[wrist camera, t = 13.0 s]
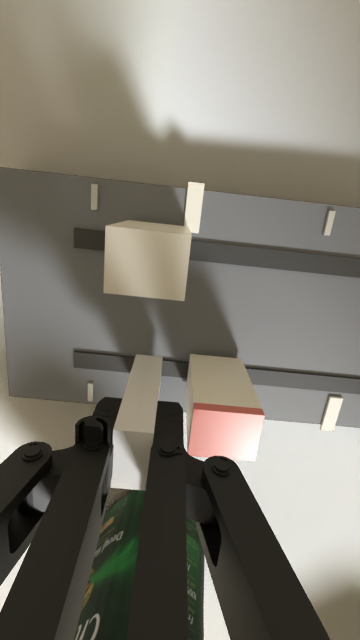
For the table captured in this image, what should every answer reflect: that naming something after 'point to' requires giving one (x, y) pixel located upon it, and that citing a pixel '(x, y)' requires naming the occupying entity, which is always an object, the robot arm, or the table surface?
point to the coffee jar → (131, 574)
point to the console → (200, 296)
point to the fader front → (146, 259)
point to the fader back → (221, 409)
